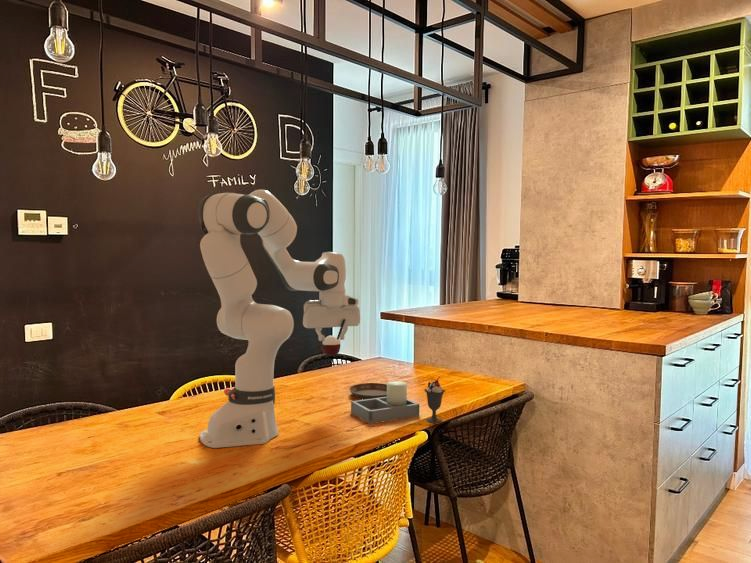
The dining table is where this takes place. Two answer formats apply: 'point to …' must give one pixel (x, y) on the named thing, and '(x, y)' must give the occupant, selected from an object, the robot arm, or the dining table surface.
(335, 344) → the cocoa
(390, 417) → the caddy
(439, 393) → the sundae
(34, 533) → the dining table surface
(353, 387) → the plant saucer
